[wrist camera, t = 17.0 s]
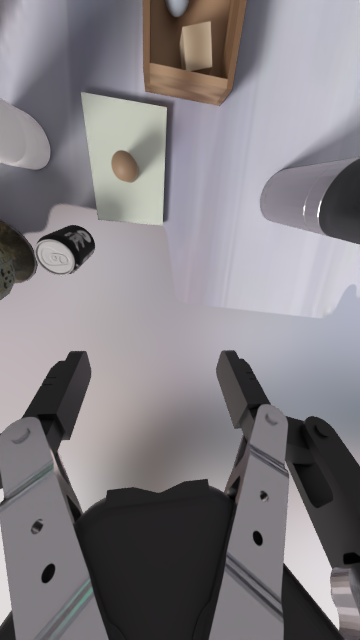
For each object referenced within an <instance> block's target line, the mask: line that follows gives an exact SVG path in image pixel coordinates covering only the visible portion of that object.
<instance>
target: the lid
mask: <svg viewBox="0 0 360 640" xmlns="http://www.w3.org/2000/svg"><path fill="white" fill-rule="evenodd" d="M81 98H82V105H83V112H84V120H85V127H86V134H87V142H88V149H89V156H90V164H91V171H92V178H93V186H94V193H95V200H96V207H97V215H98V220H108V221H120V222H131V223H142V224H153V225H163V198H164V171H165V144H166V117H167V107H162V106H157V105H151V104H146V103H140V102H134V101H129V100H123V99H118V98H112V97H107V96H101V95H95V94H90V93H84V92H81Z"/></svg>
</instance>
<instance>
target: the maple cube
mask: <svg viewBox="0 0 360 640" xmlns="http://www.w3.org/2000/svg"><path fill="white" fill-rule="evenodd" d="M179 47H180V57H181V67H182V70H187V71H191V72H196V73H200V74H205V75H209V73H210V71H211V69H212V45H211V21H209V22H204V23H199V24H194V25H189V26H185V27H182V33H181V39H180V44H179Z"/></svg>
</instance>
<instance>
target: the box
mask: <svg viewBox="0 0 360 640" xmlns="http://www.w3.org/2000/svg"><path fill="white" fill-rule="evenodd" d="M246 3H247V0H189V3H188V6H187V9H186V11H185V12H184V14H183V15H181V16H180V17H174V16H173V15H171V14H170V12H169V11H168V9H167V6H166V3H165V0H143V72H144V83H145V92H151V93H156V94H161V95H166V96H171V97H177V98H182V99H187V100H192V101H197V102H202V103H208V104H213V105H218V106H220V105H221V103H222V102H223V101H224V100H225V98H226V97H227V96H228V94H229V93H230V92H231V90H232V87H233V81H234V75H235V69H236V63H237V57H238V51H239V45H240V39H241V33H242V27H243V21H244V15H245V9H246ZM209 21H211V45H212V69H211V71H210V73H209V75H205V74H200V73H196V72H191V71H187V70H182V67H181V57H180V47H179V44H180V39H181V33H182V27H185V26H189V25H194V24H199V23H204V22H209Z"/></svg>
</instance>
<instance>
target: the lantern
mask: <svg viewBox="0 0 360 640" xmlns="http://www.w3.org/2000/svg"><path fill="white" fill-rule="evenodd" d="M36 269H37V260H36V257H35V252H34V250H33V248H32V246H31V244H30V243H29V242H28V241H27V239H26V238H25V237H24V236H23V235H22V234H21V233H20V232H18V231H17V230H16V229H15V228H13V227H12V226H10V225H8V224H6V223H4V222H2V221H0V300H1V299H3V298H4V297H5V296H7V295H8V294H9V293H10V291H11V289H12V286H13V284H14V283H22V282H24V281H27V280H29V279H30V278H31V277H32V276H33V275H34V274H35V273H36Z"/></svg>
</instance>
